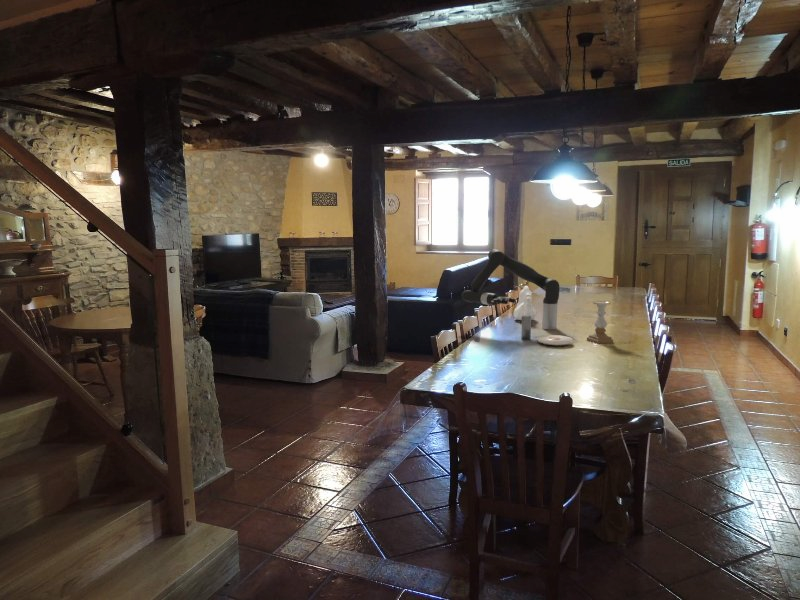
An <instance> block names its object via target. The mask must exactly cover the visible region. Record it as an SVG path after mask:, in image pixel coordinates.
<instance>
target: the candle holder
mask: <svg viewBox="0 0 800 600" xmlns="http://www.w3.org/2000/svg"><path fill="white" fill-rule="evenodd" d="M592 304H593V305H595V306H596V307H597V308H598V309H597V311H596V314H597V318H596V319H595V320H594V324H593V325H594V327H595V329H594V331H595V333H593V334H589V335H588V336H586V342H587V341H588V342H590V341H591V343H593V342H594V344H596V343H597V344H596V345H604V344H606V345H607V344H614V339H612V337H611V336H609V335H608V334H606V332H607V331H606V328H607V327H608V322H607V320H606V319H605V315H606V311H605V309H606V307H607V306H610V305H611V304H612V303H611V301H608V300H607V301H605V300H594V301H592Z"/></svg>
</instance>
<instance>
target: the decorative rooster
mask: <svg viewBox="0 0 800 600" xmlns="http://www.w3.org/2000/svg"><path fill="white" fill-rule="evenodd" d="M518 296H519V297H518V300H517V304H516V307H515V309H513V316H514V318H515V319H516V320H518V321H522V316H531V321H533V320H534V319H536V315H537V311H536V309H535V307H534V305H533V304H532V302H533V295H532V291H531V290H530V287H529V285H524V286H523V288H522V289H521V290H520V291H519V294H518Z"/></svg>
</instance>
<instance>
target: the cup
mask: <svg viewBox="0 0 800 600" xmlns="http://www.w3.org/2000/svg"><path fill="white" fill-rule="evenodd" d="M531 329H532V320H531V316H522V320H521V332H520V333H521V336H520V338H521V340H523V341H531V335H532V333H531V332H532V330H531Z"/></svg>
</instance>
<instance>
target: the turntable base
mask: <svg viewBox="0 0 800 600" xmlns="http://www.w3.org/2000/svg"><path fill="white" fill-rule="evenodd" d="M543 345H544V343H543ZM548 345H550V346H549V347H565V346H564V345H551V344H545V345H544V346H548ZM566 346H568V344H566Z"/></svg>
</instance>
